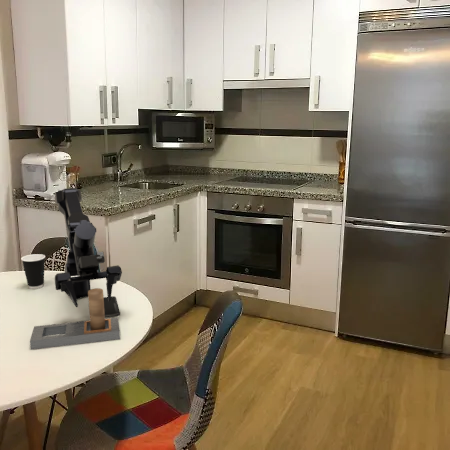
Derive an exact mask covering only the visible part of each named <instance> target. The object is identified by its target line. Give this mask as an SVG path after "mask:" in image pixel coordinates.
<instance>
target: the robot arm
mask: <svg viewBox="0 0 450 450" xmlns="http://www.w3.org/2000/svg"><path fill="white" fill-rule="evenodd" d="M54 201H55V204H57V209H58V211H59V212H61V214H62V215H63V216H64V221H65V222H64V223H65V228H66V229H65V230H66V235H67V241H68V248H69V252H68V255H67V256H66V257H67V258H66V263H65V264H64V265H65V267H64V272H59V273H58V272H57V273H56V274H55V275H54V285H55V290H57V291H58V290H59V291H60V292H62V293H63V292H64V293H65V294H66V295H67V296H68V297H69V298H70V300H71V302H72V303H73V305H74V306H75V307H76V308H78V306H79V304H78V300H80V299H82V298H86V297H88V291H89V290H91V289H92V288H91V281H93V280H100V279H101V280H102V279H106V282H105V285H106V293H107V294H106V295H107V296H106V297H108V301H109V302H110V300H111V297H112V292H113V286H114V285H116V284H117V282H119V281H121V277H122V274H123V270H122V268H121V266H120V265H112V266H111V265H110V266H107V267H106V269H105V271H100V272H99V270H100V267H99V265H100V264H104V263H105V261H106V260H105V254H104V251H99V252H98V251H97V252H96V254H95V250H94V243H95V239H96V233H97V227H96V226H95V225H94V224H93V222H91V220H90V218H89V216H88V215H86V214H84V213H83V209H82V205H81V202H82V201H83V199H82V192H81V189H78V188H75V187H69V188H67V187H66V188H63V189H61V190H60V189H58V191H55V193H54Z"/></svg>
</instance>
